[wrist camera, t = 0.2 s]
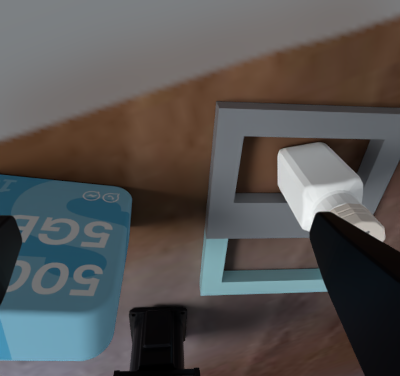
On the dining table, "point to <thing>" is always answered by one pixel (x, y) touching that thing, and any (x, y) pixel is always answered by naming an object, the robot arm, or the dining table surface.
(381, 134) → the panel
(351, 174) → the white salt shaker
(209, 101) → the dining table surface
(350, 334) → the robot arm
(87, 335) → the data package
